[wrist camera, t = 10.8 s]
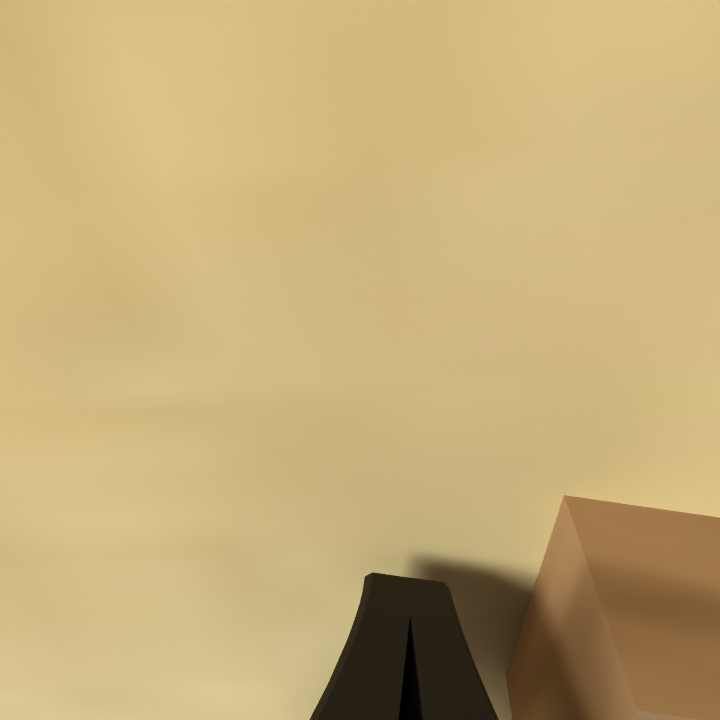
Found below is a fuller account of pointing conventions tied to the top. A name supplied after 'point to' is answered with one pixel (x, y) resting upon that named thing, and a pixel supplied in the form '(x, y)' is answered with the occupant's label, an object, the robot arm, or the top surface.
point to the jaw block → (622, 618)
